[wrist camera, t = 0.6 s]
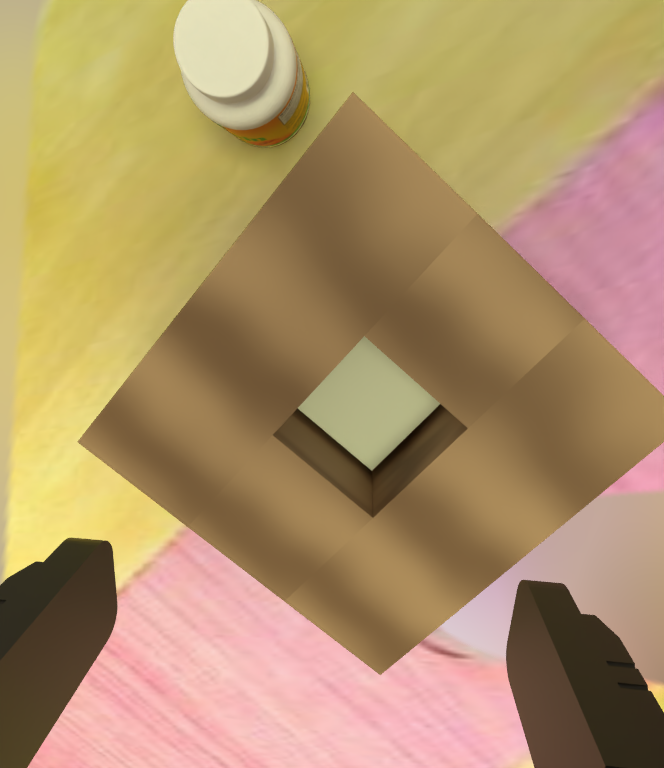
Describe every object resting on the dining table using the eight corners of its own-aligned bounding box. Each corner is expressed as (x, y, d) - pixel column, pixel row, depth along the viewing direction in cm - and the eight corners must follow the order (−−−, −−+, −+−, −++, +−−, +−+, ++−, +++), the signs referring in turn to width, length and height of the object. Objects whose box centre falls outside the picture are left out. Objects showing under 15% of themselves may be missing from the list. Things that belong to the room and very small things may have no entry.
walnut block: (358, 137, 31) (352, 91, 20) (589, 359, 34) (689, 421, 23) (162, 378, 36) (77, 441, 25) (377, 553, 39) (380, 675, 28)
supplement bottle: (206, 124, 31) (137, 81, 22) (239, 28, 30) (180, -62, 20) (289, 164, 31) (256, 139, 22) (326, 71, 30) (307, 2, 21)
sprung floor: (365, 327, 28) (365, 331, 27) (440, 395, 29) (443, 400, 28) (298, 400, 29) (295, 406, 28) (371, 463, 30) (371, 470, 29)
